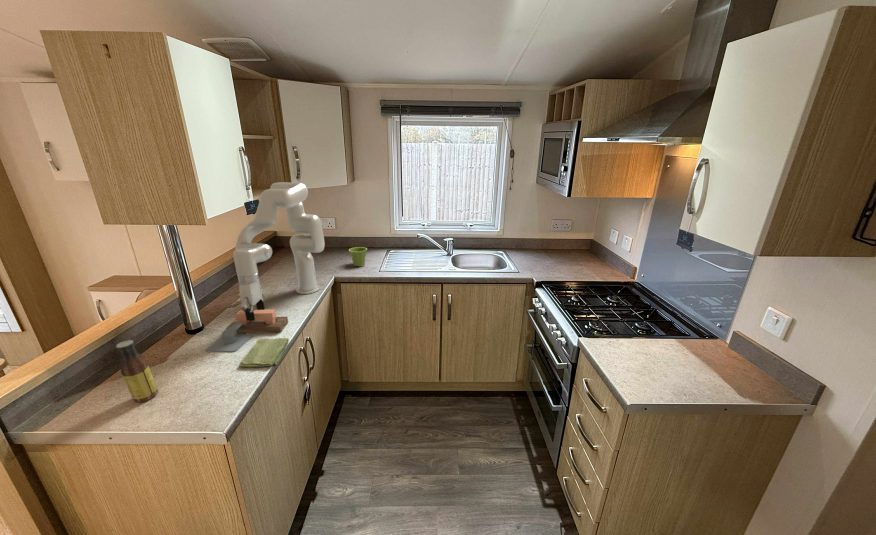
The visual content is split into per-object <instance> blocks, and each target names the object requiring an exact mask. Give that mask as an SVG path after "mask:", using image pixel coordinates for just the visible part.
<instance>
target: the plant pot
mask: <svg viewBox="0 0 876 535" xmlns="http://www.w3.org/2000/svg"><path fill="white" fill-rule="evenodd" d="M367 250H368V248H367V247H363V246H359V247H358V246H357V247H351V248H349V249H348V251H349V254H350V256H351V260H352V265H353V267H355V266H356V267H357V266H362V267H364V266H365V264H366V255H367Z"/></svg>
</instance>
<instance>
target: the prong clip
mask: <svg viewBox="0 0 876 535" xmlns="http://www.w3.org/2000/svg"><path fill="white" fill-rule="evenodd" d="M252 311H254V316H255V320H265V322H266V324H274V323H275V322H276V319H275V317H277V313H276V309H275V308H274V309H273V308H272V309H264V310H257V309H253V310H252ZM235 319H237V321H239V322H244V323H243V324H242V325H248V324H249V323H250V321H247V319H246V315H245V313H244V311H243V309H242V310H238V312H236V313H235Z"/></svg>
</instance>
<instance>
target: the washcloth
mask: <svg viewBox="0 0 876 535" xmlns="http://www.w3.org/2000/svg"><path fill="white" fill-rule="evenodd" d="M289 341H290V339H289V338H288V337H278V338H277V337H276V338H268V337H267V338H266V337H265V338H258V339H257V340H256V342H255V344H254V345H253V346H252V347H251V348H250V350H249V351H248V352H247V353H246V355H245V356H244V357H243V358H242V360H241V362H239V363H240V364H239V366H238V367H239V368H252V367H253V368H258V367H259V368H260V367H261V368H262V367H272V366H276V365H278V364H279V361H280V360H281V358H282V356H283V354H284V352H285V350H286V349H287V347H288V344H289Z"/></svg>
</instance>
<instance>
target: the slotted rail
mask: <svg viewBox="0 0 876 535" xmlns="http://www.w3.org/2000/svg"><path fill="white" fill-rule="evenodd" d="M275 319H276V322H275V323H274V324H266V322H265V320H252V321H250V323H249V324H248V325H241V326H240V327H239V329H238V330H237V333H236V334H246V333H257V334H277V333H278V334H279V333H282V332H283V330H284V329H285V328H286V326H287V325H288V324H289V319H288V316H275ZM237 322H239V321H237V319H236V318H235V319H234V320H233V321H232V322H231V323H229V325H228V326H226V328H225V330H226V329H228V328H229V327H231V326H232V325H234V324H235V323H237Z"/></svg>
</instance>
